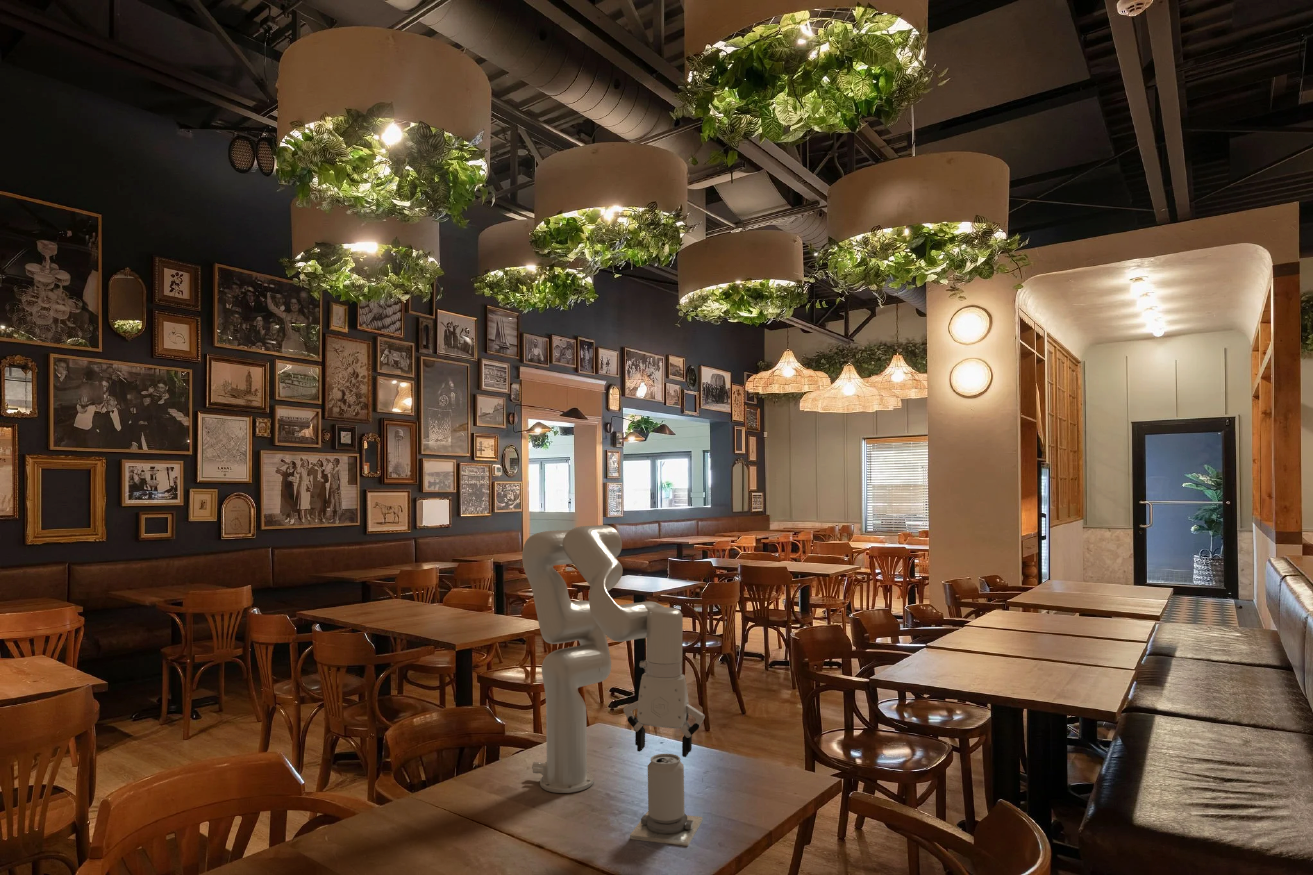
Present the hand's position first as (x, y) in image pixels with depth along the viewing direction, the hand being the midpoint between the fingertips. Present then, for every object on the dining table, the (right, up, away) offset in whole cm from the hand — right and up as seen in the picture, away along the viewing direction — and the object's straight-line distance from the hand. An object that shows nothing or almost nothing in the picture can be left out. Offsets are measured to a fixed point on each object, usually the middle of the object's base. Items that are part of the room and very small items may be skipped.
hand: (663, 751), depth 163 cm
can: (+1, -13, -1) cm, 13 cm away
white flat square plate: (+1, -15, -2) cm, 15 cm away
